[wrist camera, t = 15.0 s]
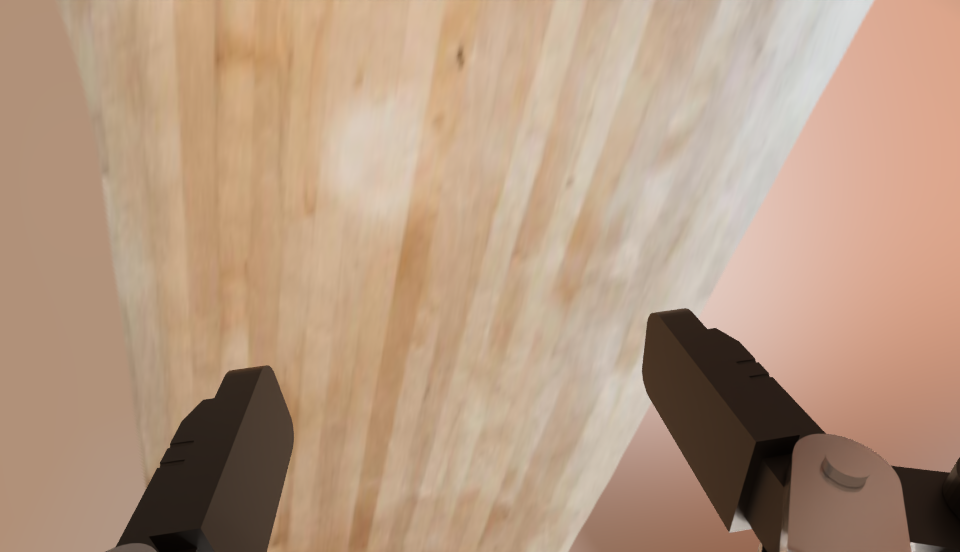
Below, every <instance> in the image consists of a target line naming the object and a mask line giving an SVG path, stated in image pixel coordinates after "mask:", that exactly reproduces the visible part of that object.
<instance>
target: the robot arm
mask: <svg viewBox="0 0 960 552" xmlns="http://www.w3.org/2000/svg"><path fill="white" fill-rule="evenodd" d="M642 375H643V381H644V385H645V389H646V392H647V394H648V396H649V398H650V400H651V401H652V403H653V404H654V406H655V408H656V410H657V411H658V413H659V415H660V416H661V418H662V420H663V421H664V423H665V425H666V426H667V428H668V429H669V432H670V433H671V435H672V437H673V438H674V440H675V442H676V443H677V445H678V447H679V449H680V450H681V452H682V454H683V455H684V457H685V459H686V460H687V462H688V464H689V465H690V467H691V469H692V470H693V472H694V474H695V476H696V477H697V479H698V481H699V482H700V484H701V486H702V487H703V489H704V491H705V492H706V494H707V496H708V498H709V499H710V501H711V503H712V504H713V506H714V508H715V509H716V511H717V513H718V514H719V516H720V518H721V519H722V521H723V523H724V524H725V526H726V528H727V530H728V531H729V532H736V531H742V530H748V529H753V531H754V532H755V534H756V536H757V537H758V539H759V540H760V542H761V543H760V545H759V548H758V552H960V458H959V459H958V461H957V462H956V464H955V465H954V467H953V469H952V470H951V472H950V473H947V472H939V471H930V470H921V469H913V468H904V467H895V466H890V465H889V464H888V462H887V461H885V460H884V459H883V458H882V457H881V456H880V455H878V454H877V453H876V452H874V451H872V450H871V449H870V448H868V447H866V446H864V445H862V444H860V443H858V442H856V441H854V440H851V439H848V438H845V437H842V436H837V435H831V434H826V433H825V432H824V431H823V430H822V429H821V428H820V427H819V426H818V425H817V424H816V423H815V422H814V421H813V420H812V419H811V418H810V416H808V414H807V413H806V412H805V411H804V410H803V409H802V408H801V407H800V406H799V405H798V404H797V403H796V402H795V401H794V400H793V398H792V397H791V396H790V395H789V394H788V393H787V392H786V391H785V390H784V389H783V388H782V387H781V386H780V385H779V384H778V383H777V381H776V380H775V379H774V378H773V377H769V373H768V372H767V371H766V370H765V369H764V368H763V367H762V366H761V364H760V363H759V362H758V363H756V361H755V358H754V357H753V356H752V355H751V354H750V353H749V352H748V351H747V350H746V348H745V347H744V346H743V345H742V344H741V343H740V342H739V341H737V340H735V339H734V338H732V337H730V336H729V335H727V334H725V333H723V332H722V331H720V330H718V329H716V328H713V329H707V328H706V327H705V326H704V325H703V324H702V323H701V322H700V320H699V319H698V318H697V317H696V316H695V315H694V314H693V313H692V312H691V311H690V310H689V309H686V308H685V309H677V310H670V311H663V312H656V313H651V314H650V316H649V318H648V322H647V330H646V339H645V348H644V356H643V365H642ZM293 442H294V431H293V423H292V419H291V416H290V413H289V411H288V408H287V405H286V403H285V400H284V398H283V395H282V392H281V390H280V387H279V384H278V382H277V379H276V376H275V374H274V371H273V370H272V368H271V367H270V366H260V367H252V368H245V369H238V370H231V371H229V372H227V374H226V375H225V377H224V379H223V381H222V383H221V385H220V387H219V389H218V392H217V394H216V396H215V398H213V399H206V400H203V401H202V402H201V403H200V404H199V405H198V406H197V407H196V408H195V409H194V410H193V411H192V412H191V413H190V414H189V415H188V416H187V417H186V418H185V419H184V420H183V421H182V422H181V424H180V426H179V428H178V430H177V432H176V433H175V435H174V437H173V439H172V441H171V443H170V448H168V449H167V451H166V452H165V454H164V456H163V458H162V460H161V462H160V468H157V470H156V472H155V473H154V475H153V477H152V479H151V481H150V483H149V485H148V487H147V489H146V491H145V492H144V494H143V496H142V498H141V500H140V502H139V504H138V506H137V508H136V510H135V512H134V513H133V515H132V517H131V519H130V521H129V523H128V525H127V527H126V529H125V530H124V533H123V534H122V536H121V538H120V540H119V542H118V544H117V546H116V547H115V548H113V549H111V550H108V551H106V552H267V548H268V544H269V540H270V536H271V532H272V528H273V524H274V521H275V517H276V513H277V509H278V505H279V501H280V497H281V493H282V489H283V485H284V481H285V477H286V473H287V469H288V465H289V461H290V457H291V453H292V449H293Z"/></svg>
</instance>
